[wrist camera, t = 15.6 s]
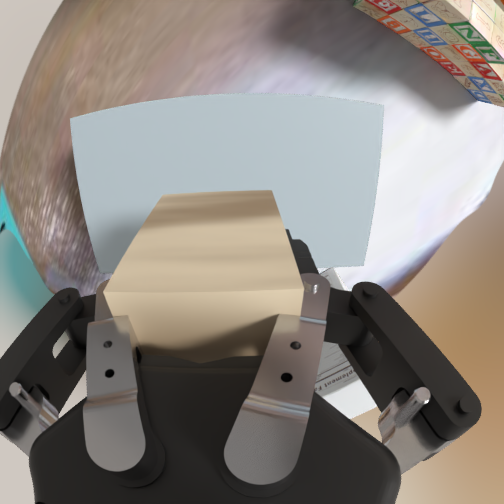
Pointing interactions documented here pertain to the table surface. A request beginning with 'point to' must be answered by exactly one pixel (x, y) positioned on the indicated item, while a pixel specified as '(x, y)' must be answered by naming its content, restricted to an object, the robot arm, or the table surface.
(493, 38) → the stack of blocks
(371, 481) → the robot arm
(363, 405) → the supplement box
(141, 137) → the box lid
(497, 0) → the reusable coffee cup
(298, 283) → the beech block
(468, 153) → the table surface
